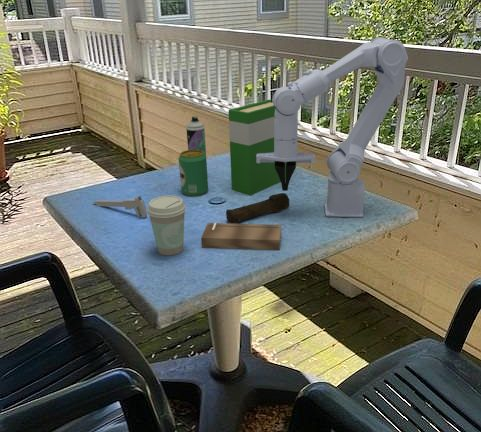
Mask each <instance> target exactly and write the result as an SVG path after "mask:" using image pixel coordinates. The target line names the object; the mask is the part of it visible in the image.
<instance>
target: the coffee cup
mask: <svg viewBox="0 0 481 432" xmlns="http://www.w3.org/2000/svg"><path fill="white" fill-rule="evenodd" d="M186 211H187V207H186V204H185V203H184V200H183V198H182V197H180V196H176V195H161V196H158V197H157V196H156V197H155V198H152V199H151V200H150V201H149V202H148V206H147V210H146V213H147V215H148V216H149V220H150V224H151V227H152V231H153V235H154V241H155V243H156V248H157V252H158V254H160V255H162V256H176V255H178V254H181V253H182V252H183V250H184V243H185V242H184V239H185V238H184V237H185V213H186Z"/></svg>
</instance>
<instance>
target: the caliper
mask: <svg viewBox="0 0 481 432" xmlns="http://www.w3.org/2000/svg"><path fill="white" fill-rule="evenodd" d="M92 203H93V204H92V205H95V204H96V205H99V206H98V207H115V208H116V207H117V208H121V207H122V208H124V209H125V210H126V211H127V210H132V209H133V211H134V212H135V214H136V215H137V217H138V218H139V217H140V218H142V219H145V218H147V217H148V213H147V206H146V204H145V201H144V199H142V195H139V196H138V195H136V196H134V198H132V199H131V198H129V199H128V198H127V199H123V200H111V199H110V200H108V199H107V200H106V199H105V200H103V199H97V200H95V201H94V202H92ZM96 205H95V206H96ZM141 216H142V217H141Z"/></svg>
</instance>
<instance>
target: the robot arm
mask: <svg viewBox="0 0 481 432" xmlns="http://www.w3.org/2000/svg"><path fill="white" fill-rule="evenodd" d="M408 60H409V56H408V53H407V50H406V47H405V45H404V44H403V43H402V41H400V40H397V39H389V38H386V37H383V36H379V37H378V36H377V37H375V38H373V39H371V40H370V41H367V42H365V43H362V44H361V45H360V46H359V47H356V48H355V49H354V50H352V51H351V52H349V53H348V54H346V55H345V56H343V57H341V58H340V59H338V60H337V61H335V62H334V63H332V64H330V65H329V66H328V67H326V68H324V69H323V70H321V69H320V70H319V69H315V68H314V69H313V70H311V69H307V70H306V71H305V72H304V73H305V75H303V76H302V77H299V78H298V79H296V80H295V81H289V82H287V85H288V86H281V87H279V88H277V89H276V91H275V92H274V93H273V96H272V98H271V103H273V104H274V106H275V107H276V109H275V119H274V152H273V153H262V154H257V155H256V163H261V162H275V170H276V172H277V173H278V176H279V178H280V181H281V182H280V185H281V191H284V192H286V191H287V192H288V191H289V185H290V182H291V181H290V180H291V178H292V176H293V175H294V173H295V171H296V170H295V169H296V168H297V164H311V165H315V164H316V155H315V153H304V152H298V129H299V128H298V127H299V125H298V124H299V120H298V112H299V110H300V108H301V106H302V105H305V104H306V103H308V102H310V101H312V100H314V99H315V98H317V97H320V95H322V94H324V93H325V92H327V91H328V89H329V85H330V83H333V82H334V81H336V80H339V79H340V78H341V77H344V76H345V75H347V74H349V73H351V72H353V71H355V70H357V69H358V68H361V67H364V68H365V67H366V68H373V69H374V70H375V73H376V77H377V81H378V84H377V86H376V87H375V89H374V90H373V92H372V93H371V96H370V97H369V99H368V101H367V103H366V104H365V106H364V108H363V109H362V112H361V113H360V115H359V117H358V118H357V120H356V122H355V124H354V125H353V127H352V129H351V130H350V132H349V134H348V135H347V137H346V139H345V140H343V141H342V142H340V143H339V144H338V146H337V148H336V149H335V150H333V151H332V152H330V154H329V155H328V156H327V160H326V166H327V168H328V169H329V170H330V173H329V175H328V177H327V178H328V179H327V195H326V196H327V197H326V203H324V211H325V217H332V218H333V217H335V218H336V217H338V218H340V217H341V218H345V217H346V218H363V217H364V206H365V196H366V194H365V192H366V189H365V187H366V185H365V179H360V178H359V177H360V174H361V168H362V165H363V163H364V161H365V150H366V149H367V147H368V146H369V144H370V142H371V140H372V138H373V136H374V135H375V134H376V132H377V130H378V129H379V127H380V125H381V123H382V122H383V120H384V119H385V117H386V115H387V113H388V111H389V110H390V108H391V107H392V105H393V104H394V102H395V100H396V99H397V97H398V95H399V93H400V91H401V89H403V86H404V83H405V76H406V75H405V74H406V73H405V72H406V64H407V62H408ZM285 163H286V180H285Z"/></svg>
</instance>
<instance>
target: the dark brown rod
mask: <svg viewBox="0 0 481 432" xmlns="http://www.w3.org/2000/svg"><path fill="white" fill-rule="evenodd" d="M289 207H290V198H289V195H288V194H287V193H284V192H281V193H277V194H272V195H269V197H268V198H267V199H265V200H262V201H258V202H254V203H251V204H248V205H243V206H240V207H236V208H233V209H226V213H225V216H226V217H225V218H226V220H227V223H229V224H240V222H241V221H245V220H248V219H251V218H256V217H258V216H261V215H264V214H267V213H272V214H276V213H280V212H282V211H284V210H285V209H287V208H289Z"/></svg>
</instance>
